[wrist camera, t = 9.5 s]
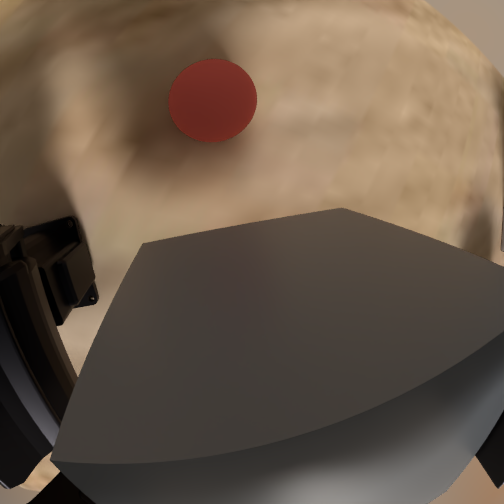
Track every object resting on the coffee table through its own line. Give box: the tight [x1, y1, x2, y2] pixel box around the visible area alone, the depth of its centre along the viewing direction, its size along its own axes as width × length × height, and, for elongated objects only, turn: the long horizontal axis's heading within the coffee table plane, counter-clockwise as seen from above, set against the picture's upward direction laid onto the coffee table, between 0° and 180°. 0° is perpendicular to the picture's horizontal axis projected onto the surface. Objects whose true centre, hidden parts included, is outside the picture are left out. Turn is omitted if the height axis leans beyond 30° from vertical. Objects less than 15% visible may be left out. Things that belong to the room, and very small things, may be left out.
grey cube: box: [50, 208, 504, 504], centre depth 8 cm, size 8×8×9 cm
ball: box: [168, 59, 257, 142], centre depth 15 cm, size 5×5×5 cm
